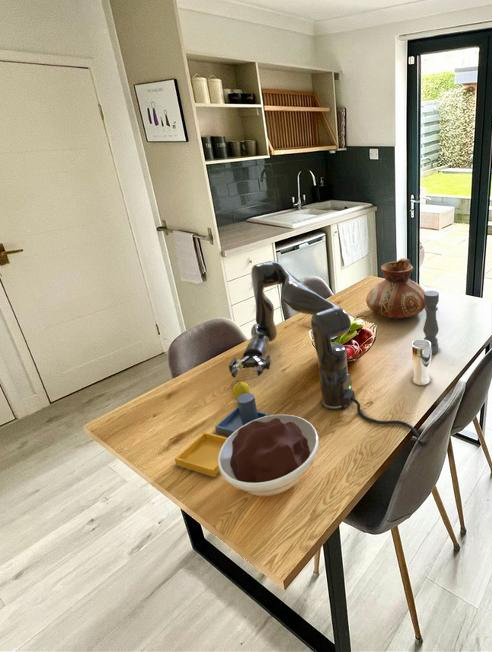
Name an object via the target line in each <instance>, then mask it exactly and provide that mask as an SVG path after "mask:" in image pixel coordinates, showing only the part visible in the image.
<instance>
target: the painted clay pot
mask: <svg viewBox="0 0 492 652" xmlns="http://www.w3.org/2000/svg"><path fill="white" fill-rule="evenodd" d="M380 271H381V273H382V274H383V276H384V280H381V281H380V282H378V283H377V284H375V285H374V286H372V288H370V289H369V291H368V293H367V294H366V295H367V296H366V299H365V302H366V305H367V306H366V307H368V309H369V310H370V311H372V312H373V313H375V314H376V315H379V316H381V317H385V318H388V319H395V320H400V319H401V320H402V319H408V318H411V317H413V316H416V315H418V314H420V313H421V312H423V310H425V306H426V304H425V302H424V292H426V291H425V290H424V289H423V287H422V286H421V285H420V284H419V283H417V282H415V281H414V280H412V279H411V278H410V277H411V274H412V273H413V271H414V267H413V265H412V264H411V261H410V259H409V258H403V257H401V258H400V259H398V260H395V261H388V262H385V263H383V264H381V266H380Z"/></svg>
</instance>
